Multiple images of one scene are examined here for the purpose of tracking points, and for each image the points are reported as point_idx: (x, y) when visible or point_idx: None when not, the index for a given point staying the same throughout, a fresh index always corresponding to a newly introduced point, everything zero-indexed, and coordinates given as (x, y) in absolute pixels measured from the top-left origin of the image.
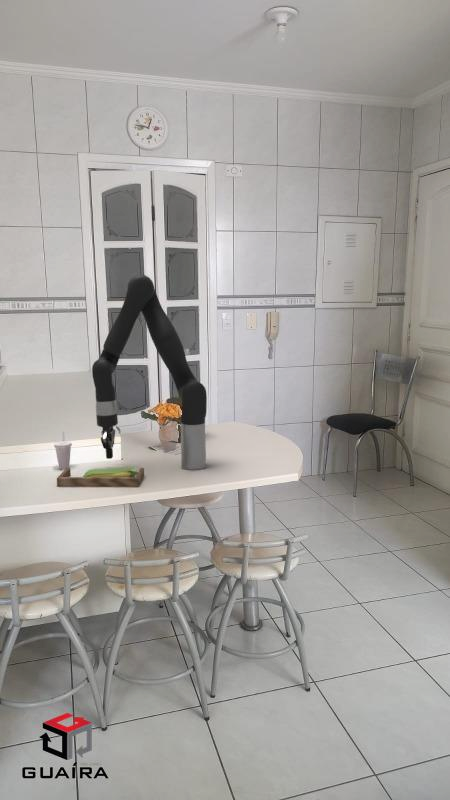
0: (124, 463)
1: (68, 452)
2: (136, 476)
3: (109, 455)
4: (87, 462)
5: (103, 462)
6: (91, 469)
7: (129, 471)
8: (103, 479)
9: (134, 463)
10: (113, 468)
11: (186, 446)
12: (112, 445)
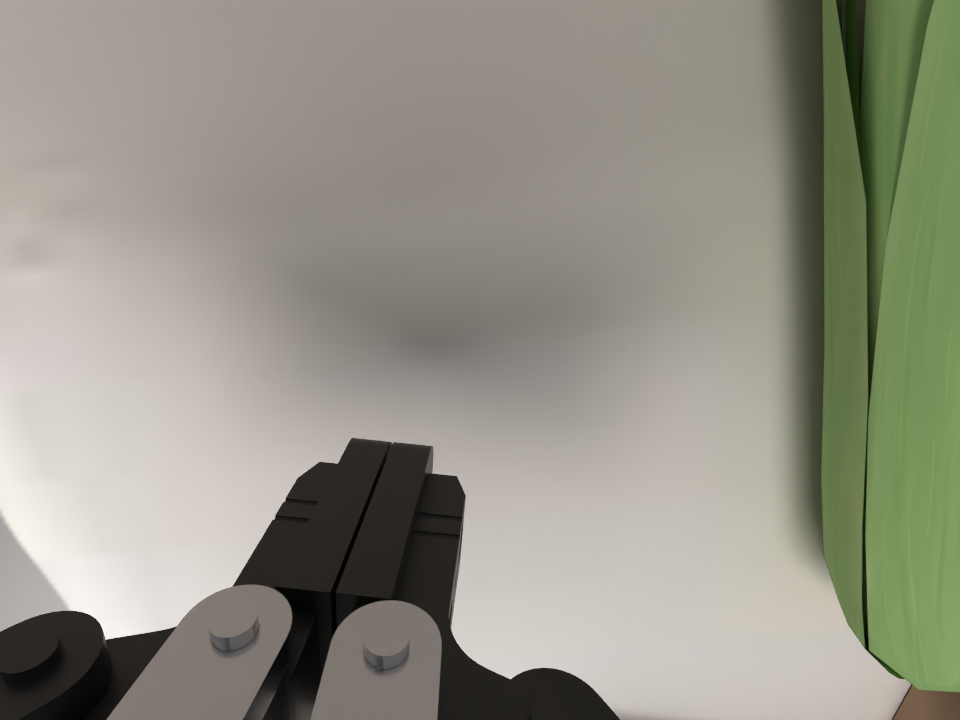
0: (69, 213)
1: None
2: None
3: (461, 525)
4: (127, 628)
5: (90, 484)
6: (934, 662)
7: (835, 8)
8: None
9: (29, 38)
10: (948, 340)
11: None
12: (249, 651)
